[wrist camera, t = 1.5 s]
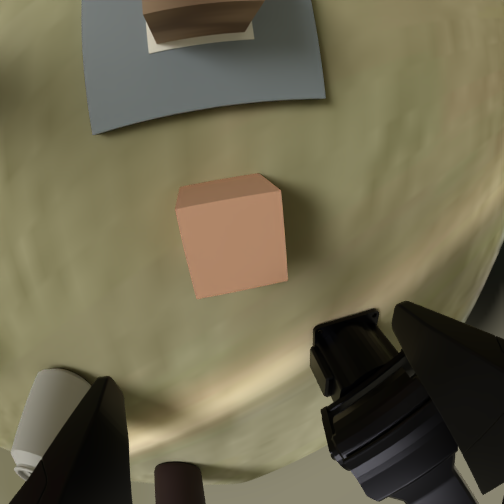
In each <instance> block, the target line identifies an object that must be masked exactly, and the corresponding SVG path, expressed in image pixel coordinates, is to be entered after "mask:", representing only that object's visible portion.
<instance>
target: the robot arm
mask: <svg viewBox="0 0 504 504" xmlns="http://www.w3.org/2000/svg"><path fill="white" fill-rule="evenodd" d="M378 317H379V312H378V311H377V310H376V309H371V310H368V311H365V312H361V313H358V314H355V315H351V316H348V317H345V318H341V319H338V320H334V321H331V322H327V323H324V324H320V325H317V326H316V327H315V328H314V329H313V346H312V347H311V349H310V367H311V369H312V372H313V374H314V376H315V378H316V380H317V382H318V384H319V386H320V388H321V391H322V393H323V395H324V396H326V397H329V396H331V398H332V400H333V403H332V404H330V405H329V406H326V407H324V408H323V409H321V414H322V422H323V426H324V430H325V434H326V439H327V443H328V447H329V451H330V453H331V457H332V459H333V460H336V461H337V462H338V463H339V464H340V465H341V466H342V467H343V468H344V469H346V470H348V471H351V472H352V473H353V474H354V476H355V477H356V478H357V480H358V482H359V483H360V485H361V487H362V488H363V490H364V492H365V494H366V495H367V496H368V497H370V498H372V499H374V500H376V501H382V500H383V499H385V498H387V497H391V498H394V499H398V500H401V501H404V502H405V503H406V504H479V503H478V501H477V499H476V498H475V496H474V495H473V493H472V492H471V490H470V488H469V487H468V485H467V484H466V482H465V480H464V479H463V477H462V476H461V475H460V473H459V471H458V470H457V468H456V467H455V465H454V463H455V453H456V452H457V451H458V447H459V449H460V450H461V452H462V454H463V457H464V459H465V460H466V462H467V464H468V466H469V468H470V470H471V472H472V474H473V476H474V478H475V480H476V483H477V484H478V487H479V489H480V491H481V493H482V494H483V495H484V494H486V493H487V492H489V491H491V490H492V489H494V488H496V487H497V486H499V485H501V484H502V483H504V339H502V338H500V337H497V336H496V337H495V336H494V335H492V334H490V333H487V332H485V331H482V330H480V329H477V328H475V327H472V326H470V325H467V324H465V323H462V322H460V321H457V320H455V319H452V318H450V317H447V316H445V315H442V314H440V313H437V312H435V311H432V310H430V309H427V308H425V307H422V306H419V305H417V304H414V303H412V302H409V301H404V302H401V303H399V304H397V305H396V306H395V309H394V314H393V319H392V329H393V331H394V333H395V335H396V337H397V339H398V341H399V343H400V345H401V347H402V349H401V352H399V353H398V351H397V350H396V349H395V348H394V346H393V345H392V344H391V343H390V341H389V340H388V339H387V338H386V336H385V335H384V334H383V333H382V331H381V330H380V329H379V328H378V326H377V322H378ZM319 330H320V331H319ZM9 504H132V495H131V481H130V463H129V439H128V430H127V422H126V413H125V403H124V396H123V393H122V391H121V390H120V388H119V387H118V386H117V384H116V383H115V382H114V380H113V379H112V378H111V377H110V376H104V377H98V378H97V379H96V380H95V382H94V383H93V384H92V386H91V387H90V389H89V390H88V391H87V393H86V394H85V395H84V397H83V398H82V400H81V401H80V402H79V404H78V405H77V407H76V408H75V410H74V411H73V412H72V414H71V415H70V417H69V418H68V420H67V421H66V422H65V424H64V425H63V427H62V428H61V430H60V431H59V433H58V434H57V436H56V437H55V439H54V440H53V442H52V443H51V445H50V446H49V448H48V449H47V451H46V452H45V454H44V455H43V457H42V459H41V460H40V461H39V463H38V464H37V466H36V467H35V469H34V470H33V472H32V473H31V475H30V476H29V478H28V479H27V481H26V482H25V483H24V485H23V486H22V487H21V489H20V490H19V491H18V492H17V494H16V495H15V496H14V498H13V499H12V500H11V502H10V503H9ZM502 504H504V498H503V502H502Z"/></svg>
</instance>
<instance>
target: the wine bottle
mask: <svg viewBox="0 0 504 504" xmlns="http://www.w3.org/2000/svg"><path fill="white" fill-rule="evenodd" d="M154 476H155V498H156V504H206V503H205V496H204V490H203V482H202V475H201V471H200V469H199V468H198V467H197V466H195V465H192V464H187V463H180V462H170V463H163V464H159V465H157V466H156V467H155V471H154Z"/></svg>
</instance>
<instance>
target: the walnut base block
mask: <svg viewBox="0 0 504 504" xmlns="http://www.w3.org/2000/svg"><path fill="white" fill-rule="evenodd" d="M264 1H265V0H142V9H143V16H144V18H145V20H146V22H147V25H148V27H149V29H150V31H151V33H152V35H153V37H154V40H155V42H156V44H160V43H165V42H170V41H175V40H181V39H187V38H193V37H200V36H208V35H216V34H226V33H239V32H245V31H246V29H247V28H248V26H249V24H250V23H251V21H252V20H253V18H254V16H255V15H256V13H257V12H258V10H259V9H260V7H261V6H262V4H263V3H264Z"/></svg>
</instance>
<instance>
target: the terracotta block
mask: <svg viewBox="0 0 504 504" xmlns="http://www.w3.org/2000/svg"><path fill="white" fill-rule="evenodd" d="M175 211H176V216H177V220H178V225H179V229H180V234H181V238H182V242H183V246H184V251H185V255H186V259H187V263H188V267H189V271H190V275H191V279H192V283H193V287H194V291H195V294H196V298H197V299H201V298H206V297H211V296H216V295H221V294H226V293H231V292H236V291H241V290H246V289H251V288H256V287H261V286H266V285H270V284H275V283H280V282H284V281H288V271H287V257H286V243H285V231H284V218H283V207H282V195H281V190H280V189H278V188H277V187H276V186H275V185H273V184H272V183H271V182H270V181H268V180H267V179H266V178H264V177H263V176H262V175H261V174H259V173H257V174H250V175H244V176H237V177H231V178H225V179H220V180H214V181H208V182H203V183H198V184H192V185H187V186H182V187H180V189H179V193H178V198H177V203H176V208H175Z"/></svg>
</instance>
